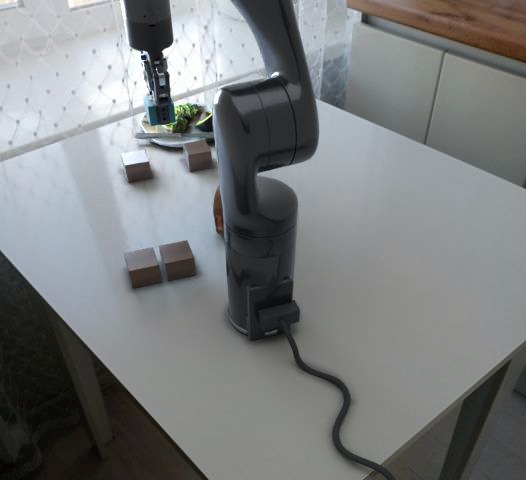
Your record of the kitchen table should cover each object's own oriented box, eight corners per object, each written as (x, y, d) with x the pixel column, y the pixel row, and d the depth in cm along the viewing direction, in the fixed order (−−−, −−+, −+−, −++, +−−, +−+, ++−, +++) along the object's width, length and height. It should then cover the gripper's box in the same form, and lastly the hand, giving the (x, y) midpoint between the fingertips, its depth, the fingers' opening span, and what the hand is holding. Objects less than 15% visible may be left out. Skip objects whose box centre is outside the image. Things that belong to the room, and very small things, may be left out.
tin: (231, 246, 92) (228, 203, 86) (212, 244, 92) (209, 200, 86) (250, 196, 102) (249, 154, 95) (233, 194, 102) (232, 152, 96)
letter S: (176, 122, 100) (173, 102, 97) (150, 126, 99) (147, 105, 96) (170, 111, 102) (167, 90, 100) (145, 114, 101) (142, 94, 99)
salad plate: (148, 163, 109) (145, 140, 106) (121, 124, 120) (117, 103, 116) (237, 141, 115) (236, 119, 112) (204, 106, 126) (202, 85, 122)
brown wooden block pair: (196, 274, 87) (194, 257, 85) (132, 288, 85) (128, 271, 82) (189, 257, 90) (187, 239, 87) (127, 270, 88) (123, 252, 85)
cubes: (212, 167, 108) (211, 150, 106) (128, 182, 105) (124, 165, 102) (206, 156, 111) (205, 139, 109) (124, 170, 108) (120, 153, 105)
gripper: (115, 0, 91) (133, 103, 104) (131, 30, 82) (148, 139, 95) (160, -5, 93) (172, 97, 106) (180, 25, 84) (190, 132, 97)
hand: (161, 116), depth 100 cm, fingers closed on letter S, 4 cm apart
